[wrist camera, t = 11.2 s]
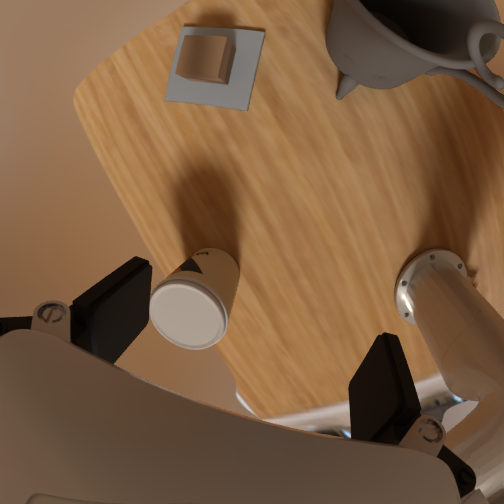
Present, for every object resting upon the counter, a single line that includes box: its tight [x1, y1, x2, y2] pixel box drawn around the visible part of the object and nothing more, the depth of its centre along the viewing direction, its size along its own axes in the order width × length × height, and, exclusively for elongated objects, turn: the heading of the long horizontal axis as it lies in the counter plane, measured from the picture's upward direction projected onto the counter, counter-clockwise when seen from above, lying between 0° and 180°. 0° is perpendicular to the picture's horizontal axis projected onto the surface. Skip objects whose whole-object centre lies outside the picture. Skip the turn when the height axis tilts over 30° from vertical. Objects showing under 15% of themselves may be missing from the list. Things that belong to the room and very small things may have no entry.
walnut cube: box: [175, 35, 236, 85], centre depth 28 cm, size 5×5×5 cm
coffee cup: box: [149, 248, 240, 350], centre depth 36 cm, size 9×9×12 cm
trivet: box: [165, 27, 265, 111], centre depth 31 cm, size 11×11×1 cm
